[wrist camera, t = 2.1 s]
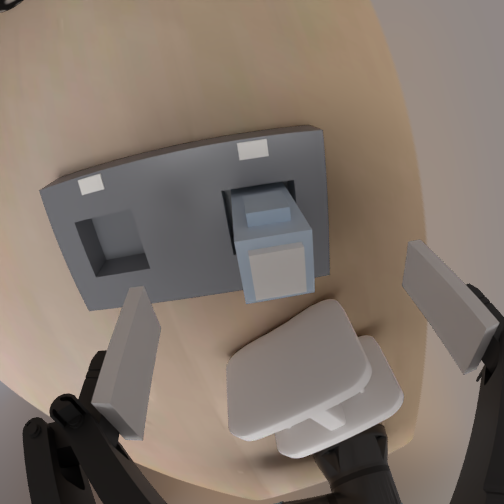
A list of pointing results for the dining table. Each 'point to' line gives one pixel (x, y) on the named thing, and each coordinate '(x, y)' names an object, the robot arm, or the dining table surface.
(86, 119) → the dining table surface
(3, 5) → the spotted tube
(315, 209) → the socket panel
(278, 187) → the plug
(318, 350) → the cable organizer
